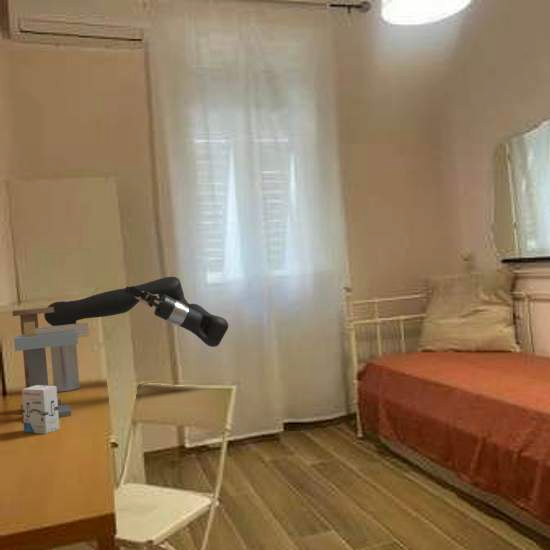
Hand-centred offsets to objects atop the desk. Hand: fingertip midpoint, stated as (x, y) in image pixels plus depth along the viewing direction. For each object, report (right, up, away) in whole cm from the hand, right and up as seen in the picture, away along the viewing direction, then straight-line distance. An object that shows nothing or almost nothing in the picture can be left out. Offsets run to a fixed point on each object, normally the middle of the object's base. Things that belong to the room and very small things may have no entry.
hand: (127, 288), depth 192 cm
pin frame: (-19, -38, -14) cm, 44 cm away
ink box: (-14, -37, -34) cm, 52 cm away
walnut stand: (-27, -38, -3) cm, 47 cm away
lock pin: (-18, -15, -13) cm, 27 cm away
